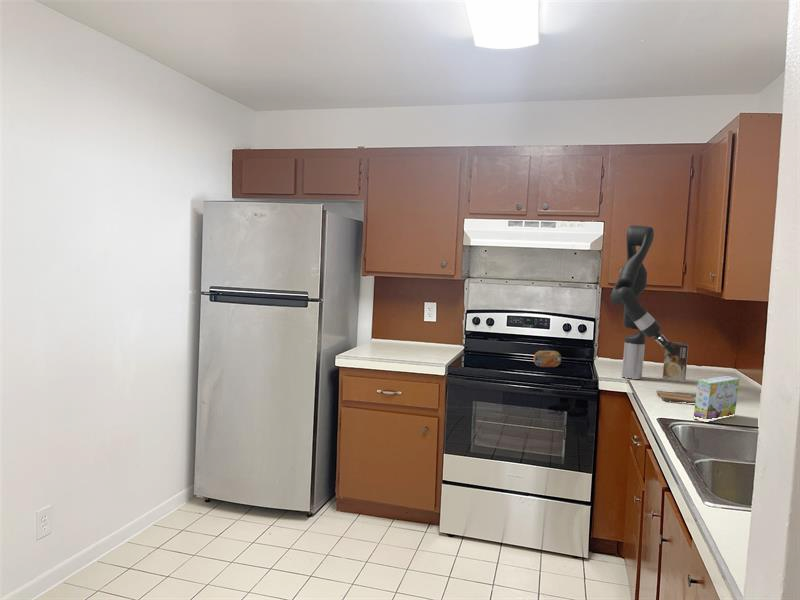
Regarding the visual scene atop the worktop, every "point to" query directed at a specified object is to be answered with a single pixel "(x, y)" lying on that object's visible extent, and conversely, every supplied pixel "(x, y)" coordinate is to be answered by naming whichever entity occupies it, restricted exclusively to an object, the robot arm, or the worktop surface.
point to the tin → (547, 358)
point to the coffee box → (676, 362)
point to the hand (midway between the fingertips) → (672, 352)
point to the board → (675, 397)
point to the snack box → (716, 397)
